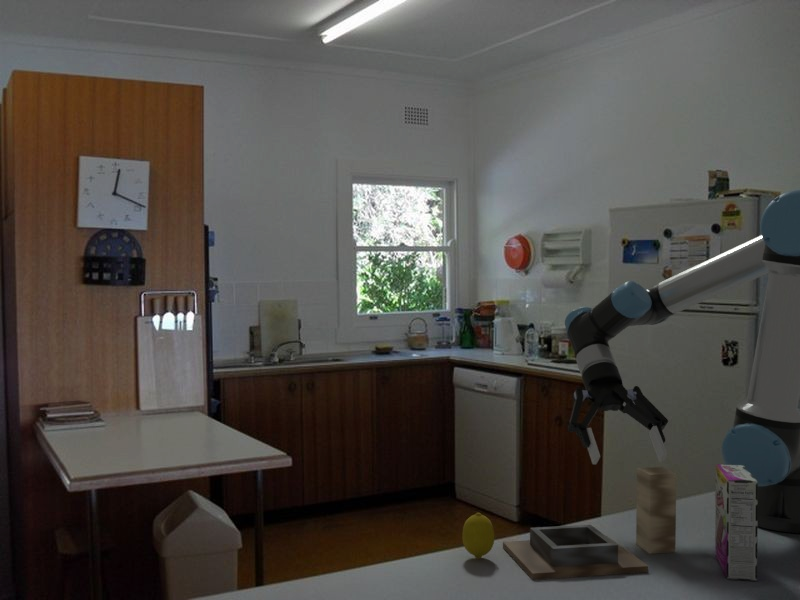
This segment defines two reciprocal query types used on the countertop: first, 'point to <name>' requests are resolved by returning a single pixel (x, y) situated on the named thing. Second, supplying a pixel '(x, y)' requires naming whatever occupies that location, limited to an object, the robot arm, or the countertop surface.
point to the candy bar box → (736, 521)
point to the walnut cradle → (572, 553)
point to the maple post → (656, 510)
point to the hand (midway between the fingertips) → (630, 459)
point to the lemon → (478, 535)
